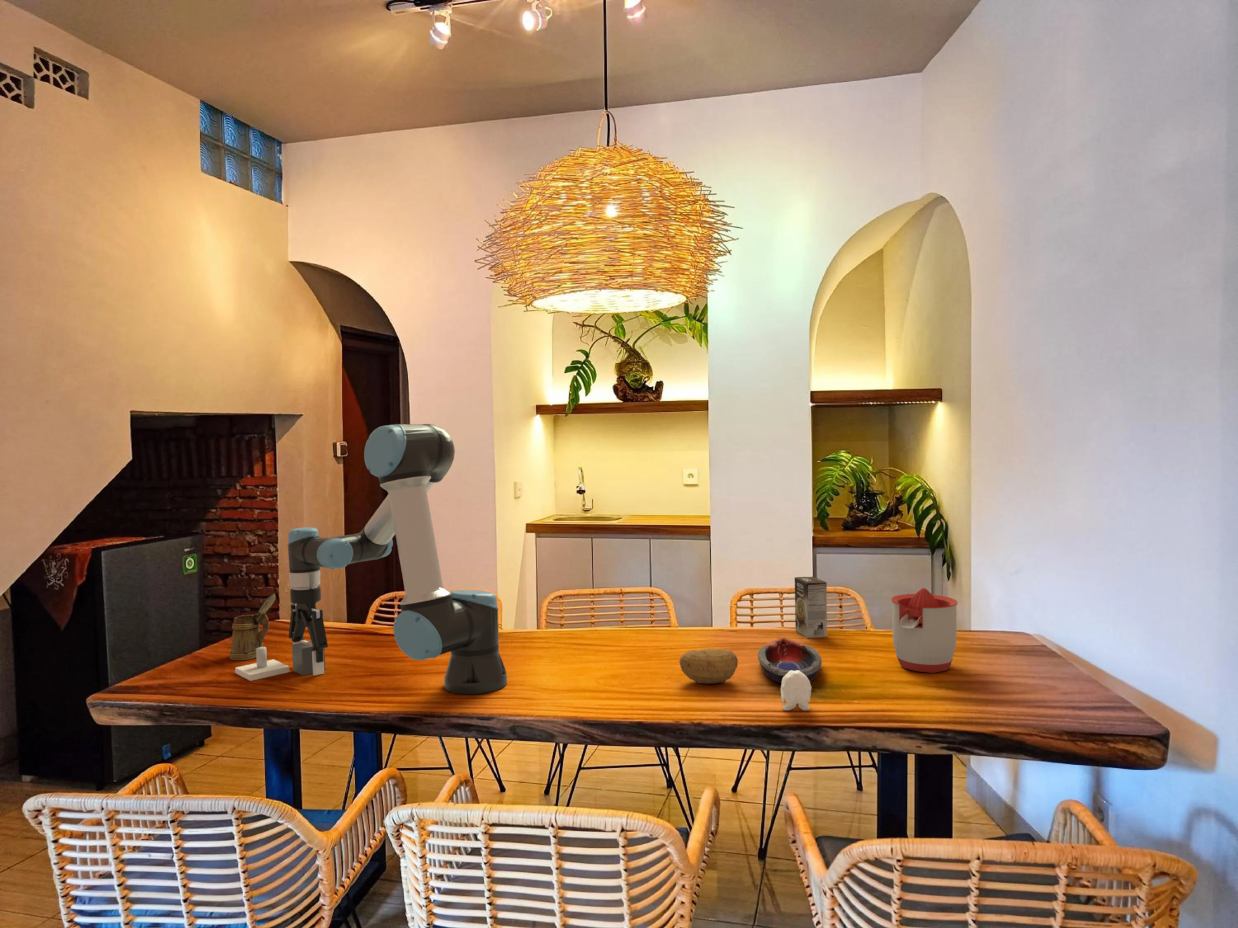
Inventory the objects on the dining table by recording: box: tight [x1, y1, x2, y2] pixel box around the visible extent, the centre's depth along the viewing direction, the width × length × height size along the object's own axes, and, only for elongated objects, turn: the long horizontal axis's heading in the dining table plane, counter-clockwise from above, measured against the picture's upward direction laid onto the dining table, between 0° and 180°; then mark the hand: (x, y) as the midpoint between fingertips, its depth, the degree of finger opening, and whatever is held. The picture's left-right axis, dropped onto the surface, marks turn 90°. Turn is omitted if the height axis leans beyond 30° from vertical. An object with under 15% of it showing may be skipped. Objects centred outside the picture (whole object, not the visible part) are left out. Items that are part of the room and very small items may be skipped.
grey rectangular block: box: [291, 639, 326, 676], centre depth 217 cm, size 6×6×8 cm
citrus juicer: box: [890, 587, 958, 674], centre depth 206 cm, size 16×17×20 cm
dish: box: [757, 637, 823, 684], centre depth 207 cm, size 16×31×5 cm, turn 171°
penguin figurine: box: [780, 670, 812, 711], centre depth 182 cm, size 6×8×12 cm
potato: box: [678, 648, 739, 685], centre depth 199 cm, size 10×14×8 cm
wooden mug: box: [229, 592, 277, 661], centre depth 233 cm, size 9×14×18 cm, turn 84°
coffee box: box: [794, 576, 828, 639], centre depth 242 cm, size 9×6×16 cm
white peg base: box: [234, 646, 290, 682], centre depth 217 cm, size 10×10×6 cm
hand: (309, 669), depth 217 cm, fingers open, 11 cm apart
